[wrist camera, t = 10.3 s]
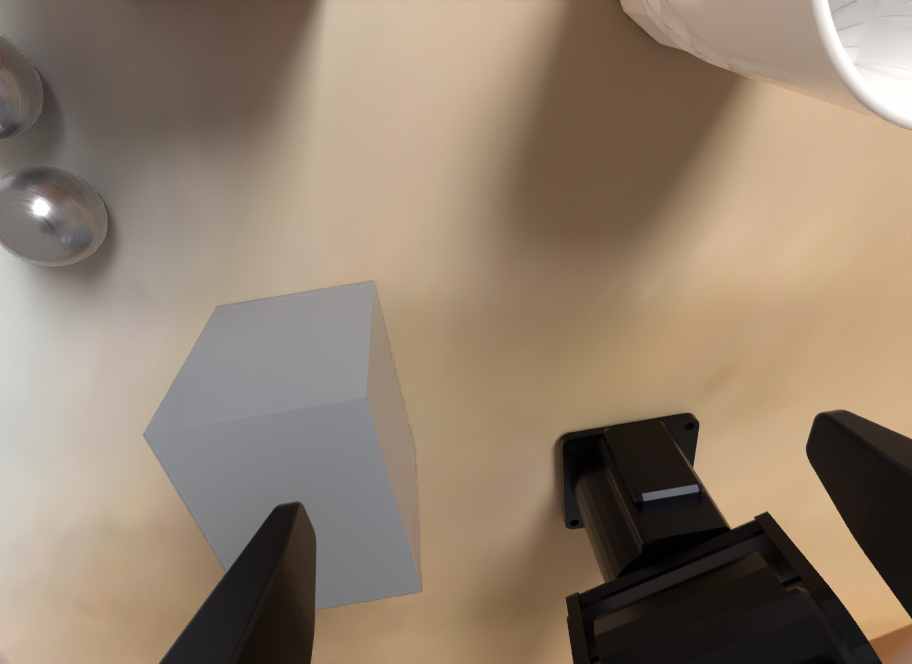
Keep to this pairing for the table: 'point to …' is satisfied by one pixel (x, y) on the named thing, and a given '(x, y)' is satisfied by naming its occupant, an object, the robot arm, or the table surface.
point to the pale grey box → (299, 437)
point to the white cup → (799, 46)
